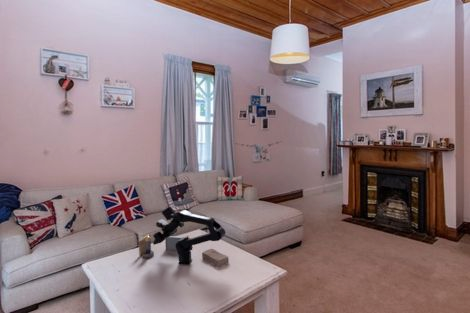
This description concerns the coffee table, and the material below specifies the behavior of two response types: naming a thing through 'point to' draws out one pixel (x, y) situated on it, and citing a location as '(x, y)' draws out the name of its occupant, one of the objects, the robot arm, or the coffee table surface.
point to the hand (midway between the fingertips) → (157, 241)
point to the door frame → (172, 242)
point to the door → (142, 245)
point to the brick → (215, 257)
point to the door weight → (148, 248)
